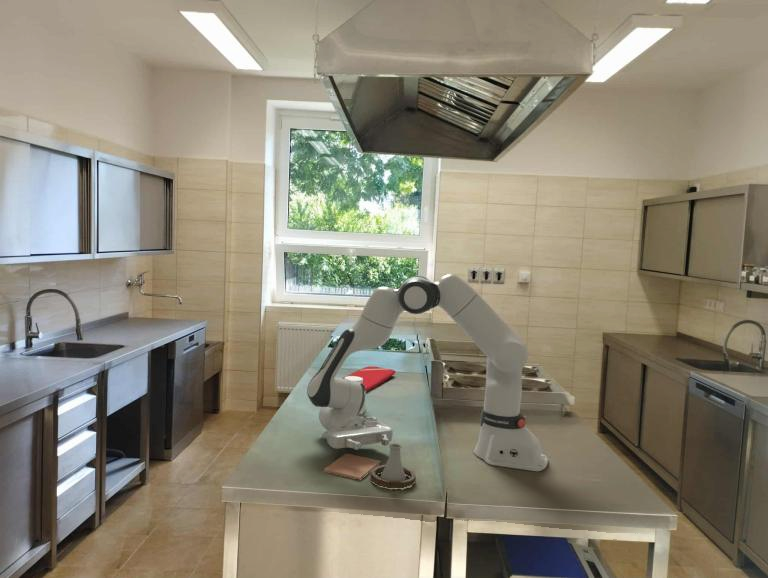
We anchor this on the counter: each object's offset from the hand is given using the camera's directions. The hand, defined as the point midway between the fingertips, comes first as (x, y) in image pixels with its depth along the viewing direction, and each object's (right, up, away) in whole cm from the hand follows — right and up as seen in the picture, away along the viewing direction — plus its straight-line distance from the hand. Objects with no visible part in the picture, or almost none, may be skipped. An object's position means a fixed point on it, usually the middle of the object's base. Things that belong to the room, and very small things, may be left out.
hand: (373, 444), depth 177 cm
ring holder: (+6, -7, -9) cm, 13 cm away
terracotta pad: (-6, -6, -2) cm, 9 cm away
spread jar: (-8, 0, +51) cm, 52 cm away
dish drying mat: (-6, +3, +92) cm, 92 cm away
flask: (+6, -8, -9) cm, 13 cm away
